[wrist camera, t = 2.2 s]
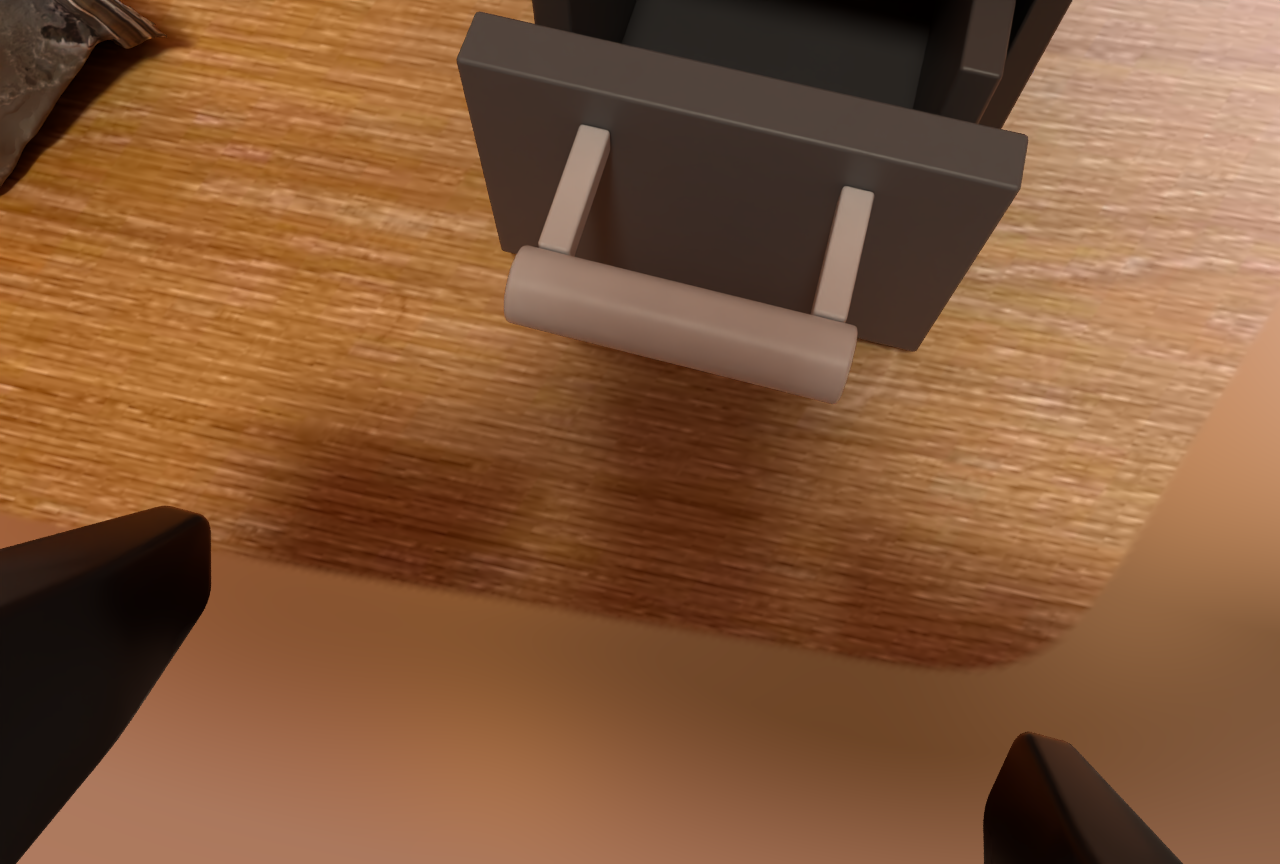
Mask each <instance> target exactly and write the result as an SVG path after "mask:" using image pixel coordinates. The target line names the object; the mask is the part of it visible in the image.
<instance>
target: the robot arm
mask: <svg viewBox="0 0 1280 864" xmlns="http://www.w3.org/2000/svg"><path fill="white" fill-rule="evenodd" d="M210 590H211V530H210V525H209V522H208V520H207V519H206V518H205V517H204V516H203V515H201V514H198V513H194V512H191V511H187V510H183V509H179V508H175V507H171V506H159V507H155V508H152V509H148V510H144V511H140V512H137V513H133V514H129V515H125V516H122V517H118V518H114V519H111V520H107V521H103V522H99V523H96V524H92V525H88V526H84V527H81V528H77V529H73V530H69V531H66V532H62V533H58V534H55V535H51V536H48V537H43V538H40V539H36V540H32V541H28V542H25V543H22V544H17V545H14V546H10V547H6V548H2V549H0V864H16V863H17V862H18V861H19V859H20V858H21V857H22V856H23V855H24V853H25V852H26V851H27V850H28V848H29V847H30V846H31V845H32V843H33V842H34V841H35V840H36V839H37V838H38V836H39V835H40V834H41V833H42V831H43V830H44V829H45V828H46V827H47V825H48V824H49V823H50V822H51V821H52V819H53V818H54V817H55V816H56V814H57V813H58V812H59V811H60V810H61V809H62V807H63V806H64V805H65V804H66V802H67V801H68V800H69V799H70V797H71V796H72V795H73V794H74V793H75V791H76V790H77V789H78V788H79V787H80V786H81V784H82V783H83V782H84V781H85V779H86V778H87V777H88V776H89V774H90V773H91V772H92V771H93V770H94V768H95V767H96V766H97V765H98V764H99V763H100V761H101V760H102V759H103V757H104V756H105V755H106V754H107V752H108V751H109V750H110V749H111V747H112V746H113V745H114V743H115V742H116V741H117V740H118V738H119V737H120V735H121V734H122V732H123V731H124V730H125V728H126V727H127V725H128V724H129V723H130V721H131V720H132V718H133V717H134V715H135V714H136V712H137V711H138V709H139V708H140V706H141V705H142V703H143V701H144V700H145V699H146V697H147V696H148V694H149V693H150V691H151V689H152V688H153V687H154V685H155V683H156V682H157V680H158V679H159V677H160V676H161V674H162V673H163V671H164V670H165V668H166V667H167V665H168V664H169V662H170V661H171V659H172V658H173V656H174V655H175V653H176V652H177V650H178V649H179V647H180V646H181V644H182V643H183V641H184V640H185V638H186V637H187V635H188V634H189V632H190V630H191V629H192V627H193V626H194V625H195V623H196V622H197V620H198V619H199V617H200V615H201V614H202V612H203V611H204V609H205V606H206V604H207V602H208V598H209V595H210ZM983 821H984V822H983V833H984V864H1183V863H1182V862H1181V861H1180V860H1179V859H1178V858H1177V857H1176V856H1175V855H1174V854H1173V853H1172V851H1171V850H1170V849H1169V848H1168V847H1167V846H1166V845H1165V844H1164V843H1163V842H1162V841H1161V840H1160V839H1159V838H1158V837H1157V835H1156V834H1155V833H1154V832H1153V831H1152V830H1151V829H1150V828H1149V827H1148V826H1147V825H1146V824H1145V823H1144V822H1143V820H1142V819H1141V818H1140V817H1139V816H1138V815H1137V814H1136V813H1135V812H1134V811H1133V810H1132V809H1131V808H1130V807H1129V805H1128V804H1126V802H1125V801H1124V800H1123V799H1122V798H1121V797H1120V796H1119V795H1118V794H1117V793H1116V792H1115V791H1114V790H1113V789H1112V787H1111V786H1110V785H1109V784H1108V783H1107V782H1106V781H1105V780H1104V779H1103V778H1102V777H1101V776H1100V775H1099V773H1098V772H1097V771H1096V770H1095V769H1094V768H1093V767H1092V766H1091V765H1090V764H1089V763H1088V762H1087V761H1086V760H1085V758H1084V757H1082V755H1081V754H1080V753H1079V752H1078V751H1077V750H1076V749H1075V748H1074V747H1073V746H1072V745H1071V744H1069V743H1067V742H1065V741H1063V740H1058V739H1055V738H1051V737H1047V736H1043V735H1040V734H1036V733H1032V732H1025V733H1022V734H1020V735H1019V736H1018V737H1017V738H1016V739H1015V740H1014V742H1013V744H1012V746H1011V748H1010V750H1009V753H1008V755H1007V757H1006V759H1005V761H1004V764H1003V766H1002V768H1001V770H1000V772H999V774H998V776H997V779H996V781H995V783H994V785H993V787H992V789H991V792H990V794H989V796H988V799H987V802H986V806H985V812H984V820H983Z"/></svg>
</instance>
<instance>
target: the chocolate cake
mask: <svg viewBox="0 0 1280 864" xmlns="http://www.w3.org/2000/svg"><path fill="white" fill-rule="evenodd" d="M154 25H156V24H154V23H153V22H151V21H149V20H148V19H146V18H144V17H142V16H141V15H140V14H139V13H137V12H136V11H135V10H134V9H133V8H131V7H130V6H129V7H128V6H126V5H124V4H123V3H121V2H120V1H119V0H0V187H1V185H2V184H3V182H4V181H5V180H6V178H7V177H8V176H9V175H10V174H11V173H12V171H13V169H14V168H15V166H16V164H17V162H18V160H19V158H20V156H21V153H22V151H23V149H24V147H25V146H26V144H27V143H28V142H29V141H30V140H31V139H32V138H33V137H34V136H35V135H36V134H37V132H38V131H39V130H40V128H41V126H42V125H43V123H44V122H45V120H46V118H47V117H48V115H49V114H50V113H51V111H52V109H53V108H54V106H55V104H56V102H57V100H58V99H59V98H60V96H61V95H62V93H63V92H64V91H65V89H66V88H67V86H68V85H69V83H70V82H71V81H72V80H73V78H74V77H75V76H76V74H77V73H78V72H79V71H80V69H81V68H82V67H83V65H84V63H85V62H86V60H87V58H88V56H89V54H90V53H91V51H92V50H93V48H94V47H95V45H96V44H98V43H99V42H102V41H105V40H112V41H114V42H115V43H116V44H117V45H119V46H122V47H123V48H127V49H128V48H133V47H135V46H137V45H140V44H141V43H142V42H144V41H145V40H147V39H151V38H155V37H166V38H168V37H167V35H165V34H164V33H162V32H160V30H158V29H157V28H156V27H155V26H154Z"/></svg>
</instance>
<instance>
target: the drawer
mask: <svg viewBox="0 0 1280 864" xmlns="http://www.w3.org/2000/svg"><path fill="white" fill-rule="evenodd" d="M532 3H533V11H534V19H535V24H532V23H528V22H524V21H519V20H515V19H510V18H506V17H501V16H497V15H493V14H488V13H484V12H477V13H476V14H475V16H474V18H473V21H472V23H471V26H470V28H469V30H468V33H467V35H466V38H465V40H464V42H463V45H462V47H461V50H460V52H459V54H458V57H457V65H458V69H459V73H460V77H461V81H462V85H463V90H464V94H465V98H466V102H467V106H468V110H469V115H470V119H471V123H472V127H473V131H474V136H475V140H476V144H477V148H478V152H479V156H480V161H481V165H482V169H483V173H484V177H485V181H486V186H487V190H488V194H489V198H490V202H491V206H492V211H493V215H494V219H495V223H496V227H497V232H498V236H499V240H500V244H501V248H502V250H504V251H506V252H510V253H514V254H517V255H516V257H515V259H514V261H513V263H512V266H511V269H510V272H509V276H508V279H507V284H506V289H505V296H504V314H505V318H506V320H507V321H508V322H510V323H514V324H517V325H521V326H525V327H529V328H533V329H537V330H541V331H545V332H549V333H553V334H557V335H561V336H565V337H569V338H573V339H577V340H581V341H585V342H589V343H593V344H597V345H601V346H605V347H609V348H613V349H616V350H620V351H624V352H628V353H632V354H636V355H640V356H644V357H648V358H652V359H656V360H660V361H664V362H668V363H672V364H676V365H680V366H684V367H688V368H692V369H696V370H700V371H704V372H708V373H712V374H715V375H719V376H723V377H727V378H731V379H735V380H739V381H743V382H747V383H751V384H755V385H759V386H763V387H767V388H771V389H775V390H779V391H783V392H787V393H791V394H795V395H799V396H803V397H807V398H811V399H814V400H818V401H822V402H826V403H830V404H836V403H837V402H838V401H839V399H840V397H841V395H842V392H843V390H844V387H845V384H846V381H847V378H848V375H849V371H850V368H851V364H852V360H853V356H854V352H855V347H856V342H857V338H860V339H864V340H868V341H872V342H876V343H880V344H884V345H888V346H892V347H896V348H900V349H904V350H908V351H912V352H913V351H916V350H917V349H918V347H919V346H920V344H921V343H922V341H923V340H924V338H925V336H926V335H927V333H928V332H929V330H930V329H931V327H932V326H933V324H934V322H935V321H936V319H937V318H938V316H939V315H940V313H941V312H942V310H943V308H944V307H945V305H946V304H947V302H948V301H949V299H950V298H951V296H952V294H953V293H954V291H955V290H956V288H957V287H958V285H959V283H960V282H961V280H962V279H963V277H964V276H965V274H966V273H967V271H968V269H969V268H970V266H971V265H972V263H973V262H974V260H975V259H976V257H977V255H978V254H979V252H980V251H981V249H982V248H983V246H984V245H985V243H986V241H987V240H988V238H989V237H990V235H991V234H992V232H993V231H994V229H995V227H996V226H997V224H998V223H999V221H1000V220H1001V218H1002V216H1003V215H1004V213H1005V212H1006V210H1007V209H1008V207H1009V206H1010V204H1011V202H1012V201H1013V199H1014V198H1015V196H1016V195H1017V193H1018V192H1019V190H1020V188H1021V182H1022V176H1023V170H1024V163H1025V157H1026V151H1027V145H1028V136H1026V135H1025V134H1020V133H1016V132H1011V131H1007V130H1002V129H998V128H994V127H989V126H985V125H980V124H978V123H979V121H980V119H981V117H982V115H983V113H984V112H985V110H986V108H987V106H988V104H989V102H990V100H991V98H992V96H993V94H994V92H995V90H996V88H997V86H998V84H999V83H1000V81H1001V79H1002V76H1003V70H1004V65H1005V59H1006V54H1007V48H1008V43H1009V37H1010V32H1011V26H1012V20H1013V15H1014V9H1015V4H1016V0H532Z"/></svg>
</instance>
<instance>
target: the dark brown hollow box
mask: <svg viewBox="0 0 1280 864" xmlns="http://www.w3.org/2000/svg"><path fill="white" fill-rule="evenodd" d="M1071 2H1072V0H1016V4H1015V9H1014V15H1013V20H1012V26H1011V32H1010V37H1009V43H1008V48H1007V54H1006V59H1005V65H1004V70H1003V76H1002V79H1001V81H1000V83H999V84H998V86H997V88H996V90H995V92H994V94H993V96H992V98H991V100H990V102H989V104H988V106H987V108H986V110H985V112H984V113H983V115H982V117H981V119H980V121H979V123H978V124H980V125H985V126H989V127H994V128H998V129H1001V128H1002V126H1003V125H1004V123H1005V121H1006V119H1007V117H1008V116H1009V114H1010V112H1011V110H1012V108H1013V107H1014V105H1015V103H1016V101H1017V99H1018V98H1019V96H1020V94H1021V92H1022V90H1023V89H1024V87H1025V85H1026V83H1027V81H1028V80H1029V78H1030V76H1031V74H1032V72H1033V71H1034V69H1035V67H1036V65H1037V63H1038V62H1039V60H1040V58H1041V56H1042V54H1043V53H1044V51H1045V49H1046V47H1047V45H1048V44H1049V42H1050V40H1051V38H1052V36H1053V35H1054V33H1055V31H1056V29H1057V27H1058V26H1059V24H1060V22H1061V20H1062V18H1063V17H1064V15H1065V13H1066V11H1067V9H1068V8H1069V6H1070V4H1071Z"/></svg>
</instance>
